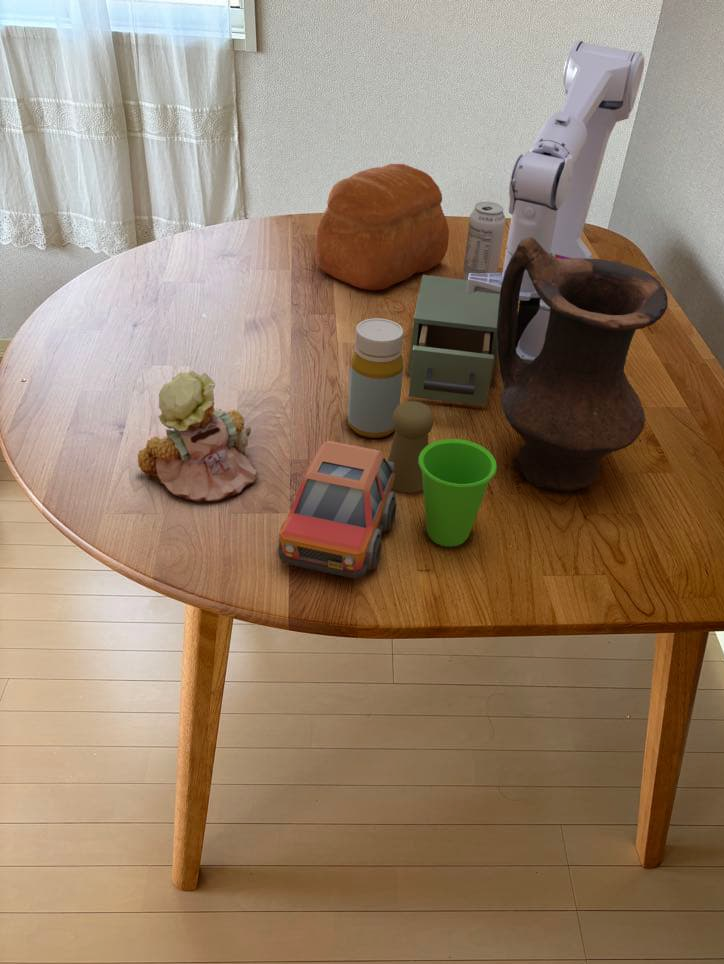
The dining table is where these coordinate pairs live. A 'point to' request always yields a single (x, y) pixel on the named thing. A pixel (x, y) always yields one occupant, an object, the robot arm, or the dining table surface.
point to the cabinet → (455, 309)
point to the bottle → (375, 377)
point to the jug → (574, 363)
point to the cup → (454, 487)
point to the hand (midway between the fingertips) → (512, 343)
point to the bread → (382, 227)
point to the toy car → (340, 512)
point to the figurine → (198, 443)
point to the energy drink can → (484, 239)
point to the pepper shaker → (409, 444)
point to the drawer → (451, 365)
